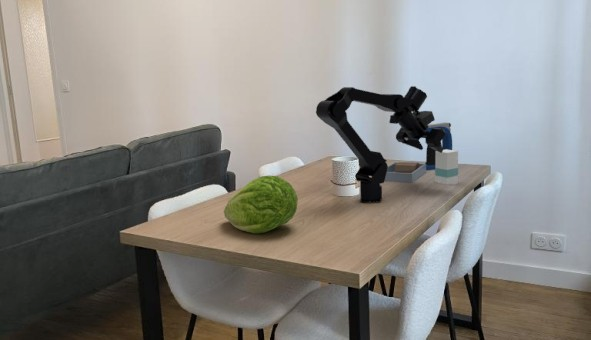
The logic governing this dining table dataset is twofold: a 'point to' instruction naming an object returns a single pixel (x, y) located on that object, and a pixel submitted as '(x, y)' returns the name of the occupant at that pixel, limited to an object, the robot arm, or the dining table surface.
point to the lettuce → (262, 205)
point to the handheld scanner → (445, 144)
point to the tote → (404, 174)
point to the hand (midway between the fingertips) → (431, 150)
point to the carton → (446, 167)
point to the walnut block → (406, 167)
